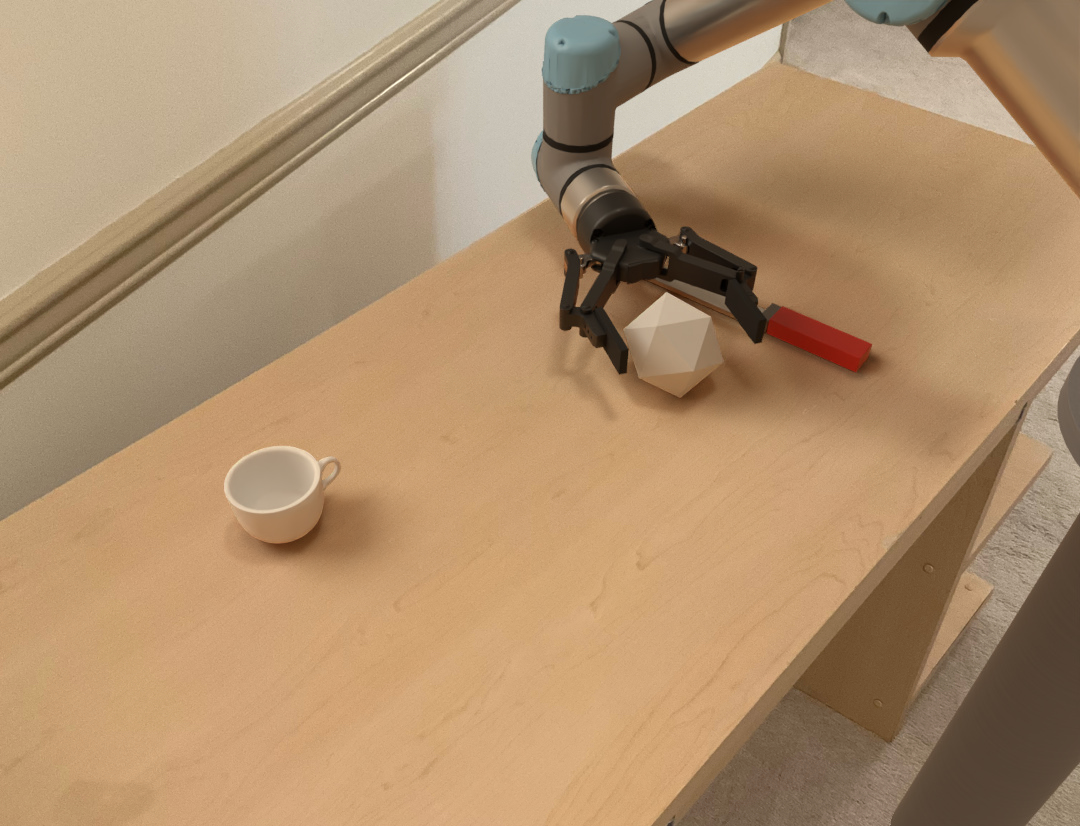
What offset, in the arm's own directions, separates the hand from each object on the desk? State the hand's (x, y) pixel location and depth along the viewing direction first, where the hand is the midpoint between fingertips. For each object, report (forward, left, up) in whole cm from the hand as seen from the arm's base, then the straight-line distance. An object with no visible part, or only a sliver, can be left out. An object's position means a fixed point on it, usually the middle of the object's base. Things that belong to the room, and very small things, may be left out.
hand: (693, 347), depth 92 cm
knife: (+3, -15, -6) cm, 16 cm away
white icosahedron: (+3, -2, -7) cm, 7 cm away
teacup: (+19, +33, -7) cm, 39 cm away
